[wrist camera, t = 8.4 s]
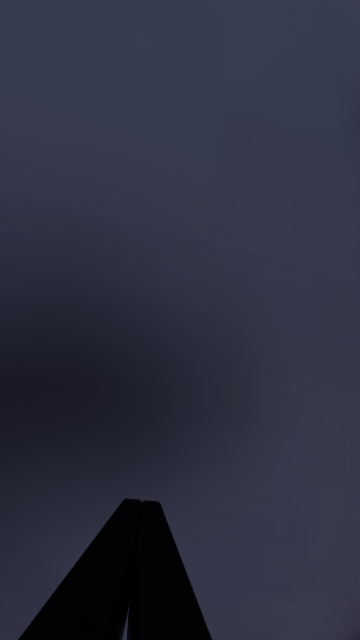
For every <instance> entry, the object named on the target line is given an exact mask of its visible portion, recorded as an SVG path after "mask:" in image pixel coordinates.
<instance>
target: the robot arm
mask: <svg viewBox="0 0 360 640" xmlns="http://www.w3.org/2000/svg"><path fill="white" fill-rule="evenodd" d="M130 593H131V594H130ZM129 601H130V603H129ZM128 608H129V613H128ZM127 614H128V626H127V640H212V638H211V636H210V633H209V630H208V628H207V625H206V622H205V620H204V617H203V615H202V612H201V609H200V607H199V604H198V601H197V599H196V596H195V593H194V591H193V588H192V586H191V583H190V580H189V578H188V575H187V572H186V570H185V567H184V564H183V562H182V559H181V557H180V554H179V551H178V549H177V546H176V543H175V541H174V538H173V535H172V533H171V530H170V528H169V525H168V522H167V520H166V517H165V514H164V512H163V509H162V506H161V504H160V503H159V502H157V501H147V500H144V501H143V502H141V501H140V500H137V499H124V500H123V501H122V502H121V504H120V505H119V506H118V508H117V509H116V510H115V512H114V513H113V514H112V516H111V517H110V518H109V520H108V521H107V522H106V524H105V525H104V526H103V528H102V529H101V530H100V532H99V533H98V534H97V536H96V537H95V538H94V540H93V541H92V542H91V544H90V545H89V546H88V548H87V549H86V550H85V552H84V553H83V554H82V556H81V557H80V558H79V560H78V561H77V562H76V564H75V565H74V566H73V568H72V569H71V570H70V572H69V573H68V574H67V576H66V577H65V578H64V580H63V581H62V582H61V583H60V585H59V586H58V587H57V589H56V590H55V591H54V593H53V594H52V595H51V597H50V598H49V599H48V601H47V602H46V603H45V605H44V606H43V607H42V609H41V610H40V611H39V613H38V614H37V615H36V617H35V618H34V619H33V621H32V622H31V623H30V625H29V626H28V627H27V629H26V630H25V631H24V633H23V634H22V635H21V637H20V638H19V639H18V640H122V638H123V634H124V629H125V624H126V619H127Z"/></svg>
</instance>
